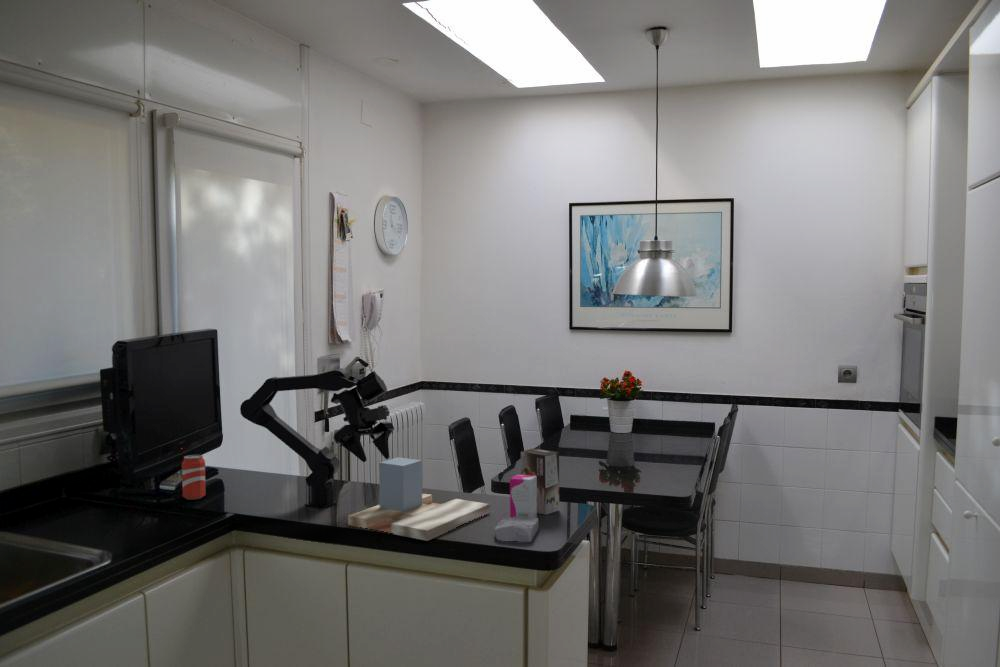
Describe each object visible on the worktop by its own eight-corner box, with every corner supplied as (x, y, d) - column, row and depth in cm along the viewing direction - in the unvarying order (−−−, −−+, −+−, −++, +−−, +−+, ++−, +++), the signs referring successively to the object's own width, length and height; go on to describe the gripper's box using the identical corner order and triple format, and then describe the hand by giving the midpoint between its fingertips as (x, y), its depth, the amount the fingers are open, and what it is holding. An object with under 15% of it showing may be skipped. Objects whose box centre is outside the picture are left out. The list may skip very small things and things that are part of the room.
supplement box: (537, 518, 210) (537, 475, 209) (530, 524, 204) (530, 480, 204) (516, 516, 212) (516, 473, 211) (509, 522, 206) (509, 478, 206)
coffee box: (560, 510, 217) (560, 452, 216) (545, 515, 213) (545, 455, 212) (534, 504, 224) (535, 447, 223) (519, 509, 219) (519, 451, 218)
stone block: (493, 549, 191) (534, 543, 189) (489, 529, 191) (530, 523, 189) (503, 536, 202) (541, 530, 200) (500, 517, 203) (538, 511, 201)
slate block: (379, 507, 211) (379, 462, 210) (398, 500, 218) (398, 457, 217) (403, 511, 207) (403, 465, 206) (422, 504, 214) (421, 460, 213)
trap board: (348, 525, 204) (348, 515, 204) (415, 500, 228) (415, 492, 227) (427, 540, 191) (427, 530, 191) (489, 513, 215) (489, 504, 215)
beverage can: (197, 493, 236) (196, 453, 235) (210, 497, 232) (209, 456, 231) (178, 498, 231) (177, 456, 230) (191, 501, 227) (190, 459, 226)
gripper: (349, 395, 209) (373, 447, 204) (395, 394, 225) (418, 442, 220) (323, 416, 214) (345, 468, 209) (369, 414, 230) (391, 462, 225)
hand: (376, 459), depth 215 cm, fingers open, 9 cm apart
